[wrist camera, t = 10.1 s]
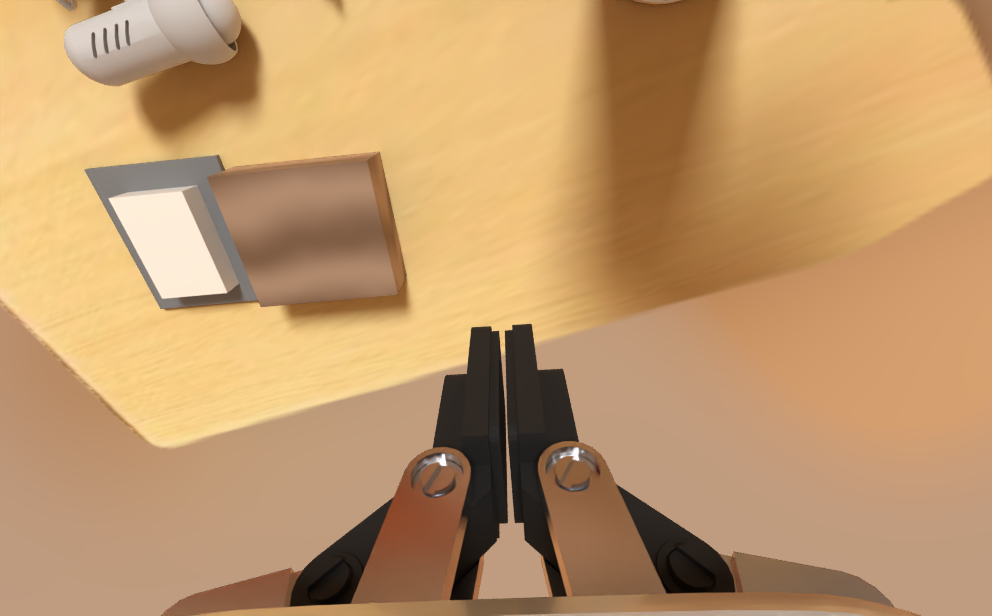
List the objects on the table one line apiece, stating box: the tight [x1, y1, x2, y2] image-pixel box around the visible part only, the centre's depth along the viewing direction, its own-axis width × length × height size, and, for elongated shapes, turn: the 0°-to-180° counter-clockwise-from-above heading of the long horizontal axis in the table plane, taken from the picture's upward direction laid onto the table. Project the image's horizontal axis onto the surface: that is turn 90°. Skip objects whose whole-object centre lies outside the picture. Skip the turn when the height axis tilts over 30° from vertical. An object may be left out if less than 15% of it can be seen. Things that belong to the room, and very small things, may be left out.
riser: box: [207, 152, 406, 307], centre depth 35 cm, size 11×12×4 cm
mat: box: [85, 155, 258, 309], centre depth 37 cm, size 13×11×1 cm
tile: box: [108, 185, 239, 299], centre depth 36 cm, size 9×6×2 cm, turn 5°
